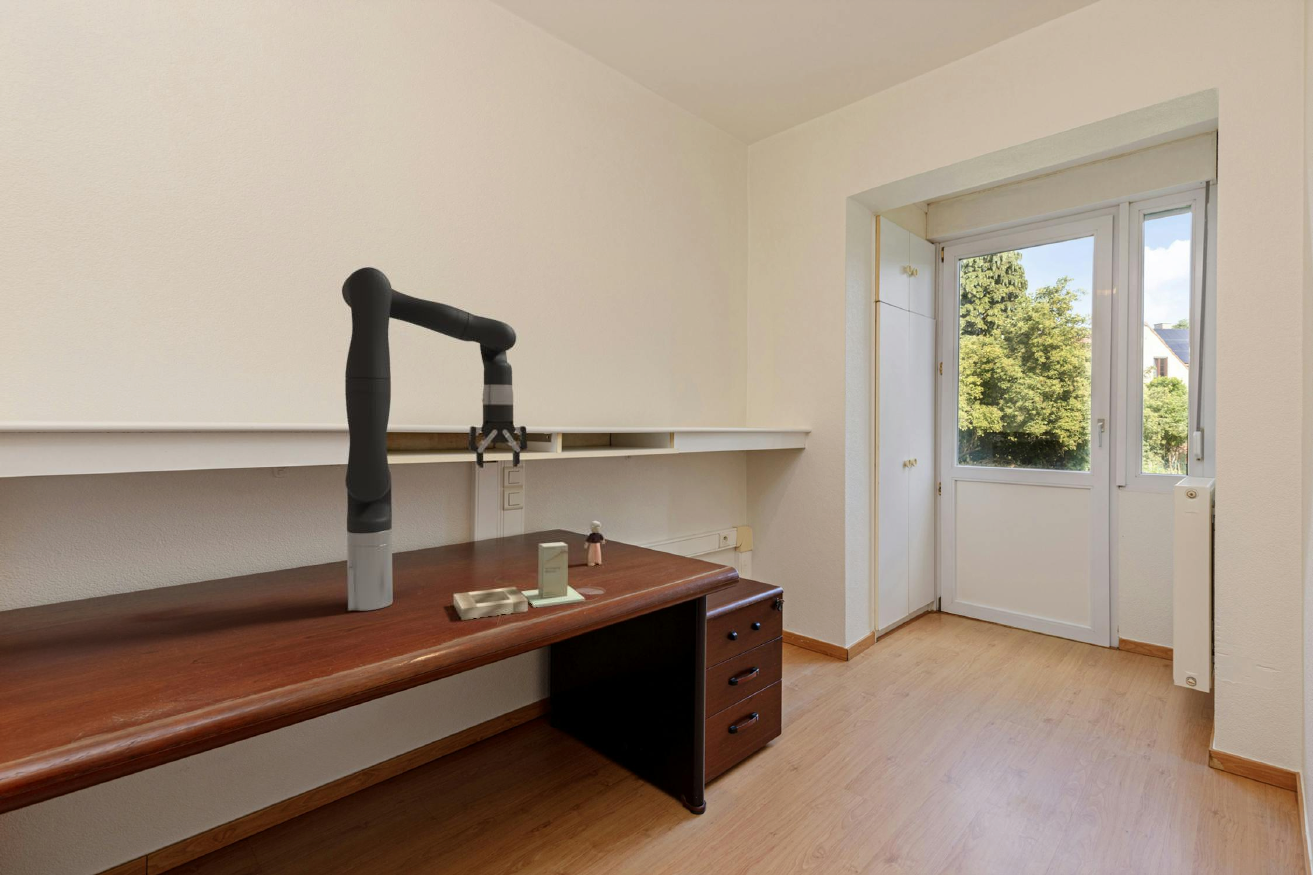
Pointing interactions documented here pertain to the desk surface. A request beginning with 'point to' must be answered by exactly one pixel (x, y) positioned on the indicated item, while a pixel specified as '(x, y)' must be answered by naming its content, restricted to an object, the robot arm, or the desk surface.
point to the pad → (552, 598)
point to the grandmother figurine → (594, 544)
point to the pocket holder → (490, 603)
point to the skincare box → (553, 569)
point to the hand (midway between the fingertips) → (498, 467)
